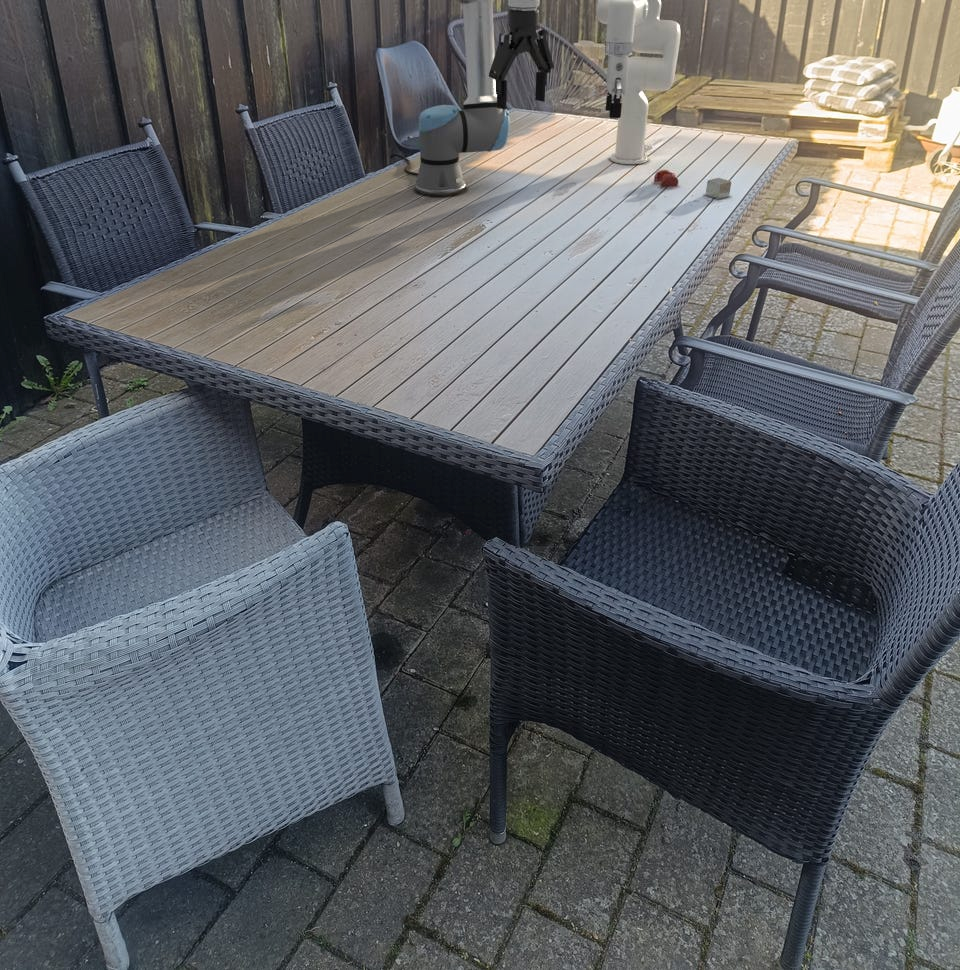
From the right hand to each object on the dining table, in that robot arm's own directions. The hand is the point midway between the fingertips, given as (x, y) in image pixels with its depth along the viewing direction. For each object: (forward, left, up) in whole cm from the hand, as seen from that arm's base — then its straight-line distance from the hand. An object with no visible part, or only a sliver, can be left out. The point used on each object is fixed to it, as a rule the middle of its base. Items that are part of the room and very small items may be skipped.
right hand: (612, 114), depth 246 cm
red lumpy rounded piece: (-18, +9, -22) cm, 30 cm away
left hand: (+44, +7, +9) cm, 45 cm away
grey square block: (-21, +26, -22) cm, 40 cm away
